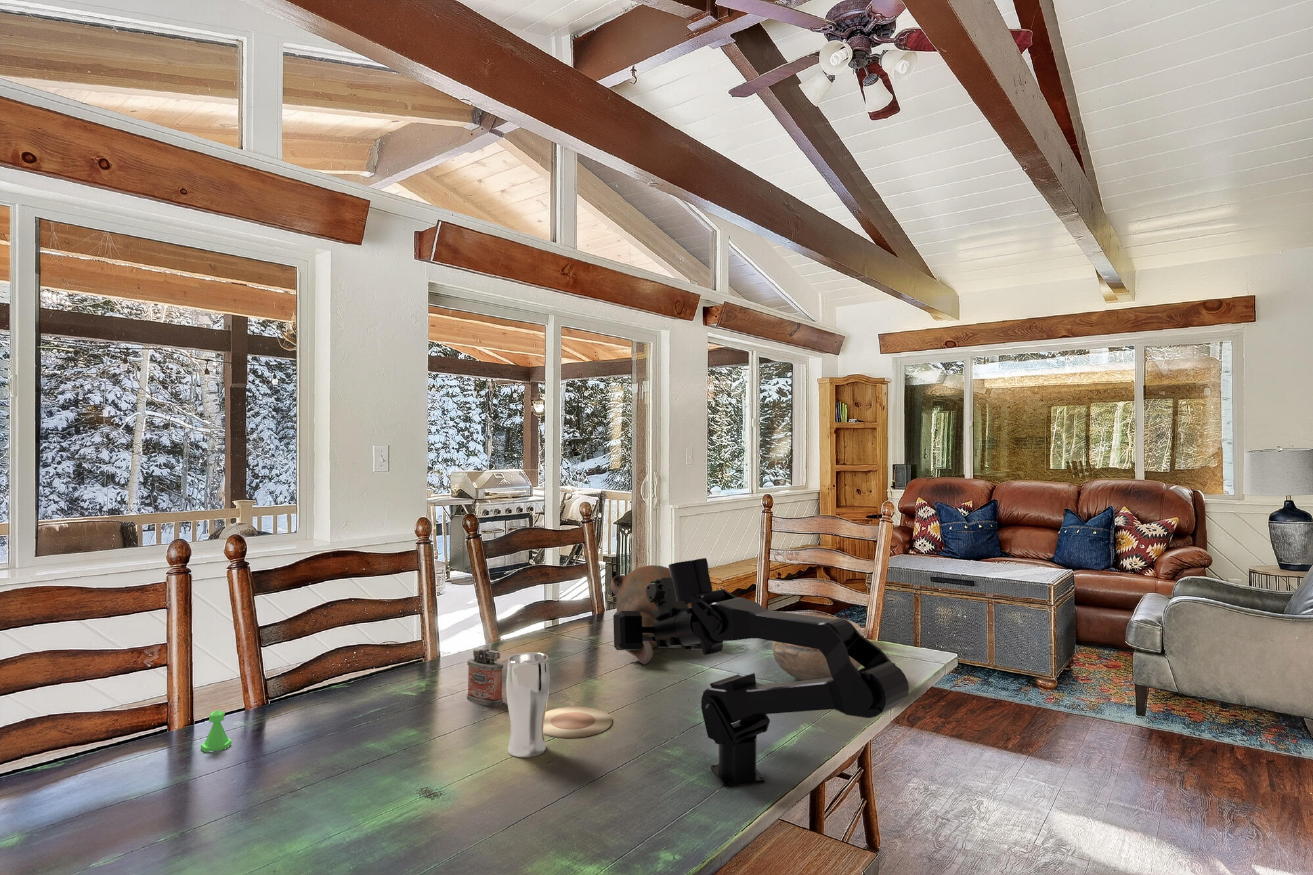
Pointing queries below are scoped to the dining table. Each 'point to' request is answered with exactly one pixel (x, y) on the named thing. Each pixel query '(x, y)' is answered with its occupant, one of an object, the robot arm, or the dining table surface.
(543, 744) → the silver tall cup
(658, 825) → the dining table surface
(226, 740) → the game piece
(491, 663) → the lighter
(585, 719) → the coaster
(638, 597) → the jug
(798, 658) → the cooking pot
